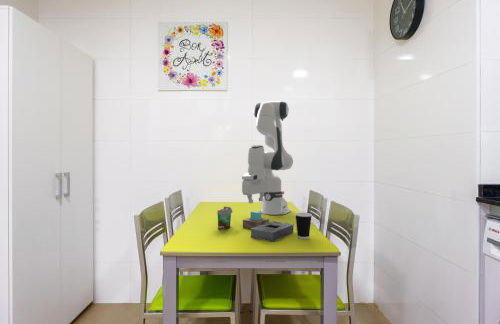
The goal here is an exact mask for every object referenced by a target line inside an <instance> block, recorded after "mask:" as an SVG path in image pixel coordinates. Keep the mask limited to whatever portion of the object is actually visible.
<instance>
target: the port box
mask: <svg viewBox="0 0 500 324" xmlns="http://www.w3.org/2000/svg"><path fill="white" fill-rule="evenodd" d="M294 227H295V226H294V223H287V222H281V221H275V220H272V221H269V223H266V224H263V225H260V226H257V227H255V228H252V229H250V238H252V237H253V238H252V239H258V240H263V241H268V242H275V241H278V240H280V239H282V238H285V237H286V236H289V235H290V234H293V233H294V229H295V228H294Z"/></svg>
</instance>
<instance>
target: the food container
mask: <svg viewBox="0 0 500 324" xmlns="http://www.w3.org/2000/svg"><path fill="white" fill-rule="evenodd" d="M216 213H217V230H228V229H230V228H231V221H232V213H233V208H232V207H230V206H223V208H221V209H219V210H217V211H216Z"/></svg>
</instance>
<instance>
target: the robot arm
mask: <svg viewBox="0 0 500 324" xmlns="http://www.w3.org/2000/svg"><path fill="white" fill-rule="evenodd" d="M289 108H290V107H289V105H288V103H287V102H286V101H276V100H275V101H274V100H273V101H266V102H265V101H263V102H258V103H256V104H255V105H254V107H253V115H254V117H255V119H256V123H255V127H256V129H257V132H258V133H260V134H261V135H262V136H264V143H265V145H266V146H267V147H268V148H270V149H272V150H273V151H265V148H264V146H263V145H260V144H254V145H251V146H249V149H248V155H247V163H248V168H247V172H246V173H245V174H243V175H242V176H241V180H242V183H241V192H242V195H244V196H247V199H248V203H249V204H253V203H254V199H253V198H252V197H253V195H258V194H259V197H258V202H261V209H260V210H259V212H262V214H263V215H273V216H274V215H275V216H276V215H277V216H278V215H287V214H288V213H290V212H291V211H292V208H288V206H289V203H288V201H287V200H286V199H285V198H284V197H283V195H285V191H283V190H282V179H281V178H280V176H278V175H276V174H274V173H273V171H285V170H290V169H291V168H292V166H293V164H294V160H293V156H292V155H291V154H290V153H289V152H287V150H286V149H285V147H284V144H283V124H282V122H283V121H284V120H285V119H286V118H287V117H288V115H289V112H290V109H289Z"/></svg>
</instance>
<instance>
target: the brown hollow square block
mask: <svg viewBox="0 0 500 324" xmlns="http://www.w3.org/2000/svg"><path fill="white" fill-rule="evenodd" d="M250 219H251V217H248V218H245V219H242V228H243V229H249V230H251V229H252V228H255V227H257V226H260V225H263V224H266V223H269V222H270V219H269V218H265V217H264V218H263V217H262V220H260V221H256V220H250Z"/></svg>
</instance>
